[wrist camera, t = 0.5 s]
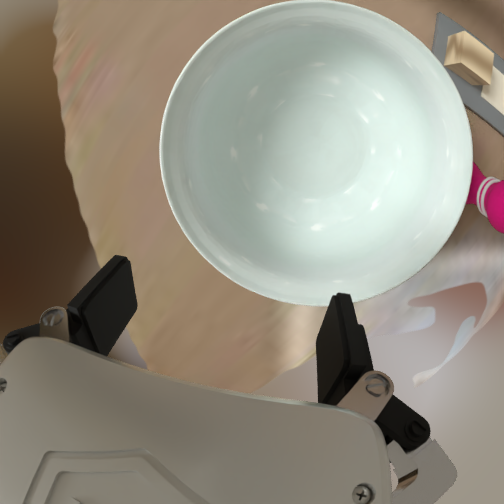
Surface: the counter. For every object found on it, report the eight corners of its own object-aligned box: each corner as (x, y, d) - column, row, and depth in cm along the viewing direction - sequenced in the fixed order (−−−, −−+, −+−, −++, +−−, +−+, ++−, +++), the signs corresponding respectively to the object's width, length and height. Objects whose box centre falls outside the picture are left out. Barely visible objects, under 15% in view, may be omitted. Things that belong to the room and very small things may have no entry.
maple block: (448, 36, 21) (464, 30, 17) (476, 56, 21) (494, 53, 17) (443, 65, 24) (460, 62, 20) (472, 85, 24) (490, 85, 20)
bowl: (428, 226, 38) (472, 275, 25) (242, 267, 46) (223, 327, 33) (389, 27, 24) (433, -5, 11) (174, 77, 32) (118, 66, 20)
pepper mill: (463, 153, 31) (550, 193, 13) (458, 195, 34) (534, 254, 17) (429, 146, 32) (517, 182, 14) (424, 191, 35) (500, 253, 18)
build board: (437, 13, 20) (440, 11, 19) (531, 92, 20) (535, 92, 19) (425, 81, 27) (429, 80, 26) (521, 152, 27) (524, 154, 26)
